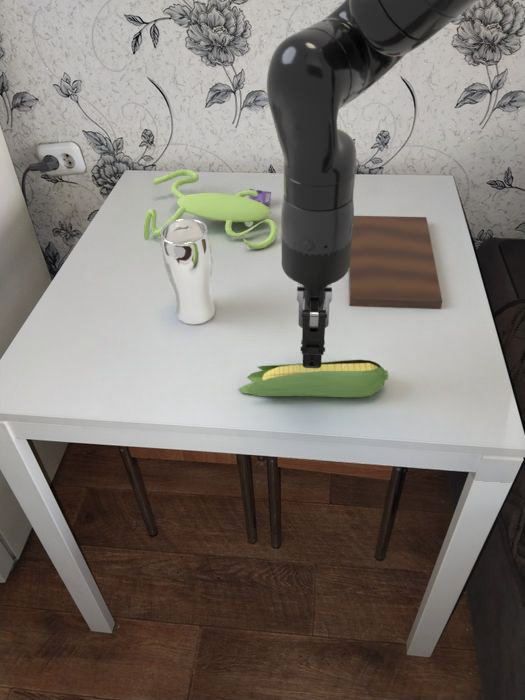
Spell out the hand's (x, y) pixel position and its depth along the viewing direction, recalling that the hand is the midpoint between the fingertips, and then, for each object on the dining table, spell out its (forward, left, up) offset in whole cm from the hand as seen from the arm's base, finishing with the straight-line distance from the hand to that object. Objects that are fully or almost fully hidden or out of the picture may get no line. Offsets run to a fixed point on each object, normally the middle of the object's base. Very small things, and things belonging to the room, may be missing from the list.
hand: (312, 341), depth 74 cm
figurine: (+35, -31, -9) cm, 48 cm away
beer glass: (+23, -7, -9) cm, 26 cm away
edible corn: (0, 0, -9) cm, 9 cm away
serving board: (0, -32, -9) cm, 34 cm away
